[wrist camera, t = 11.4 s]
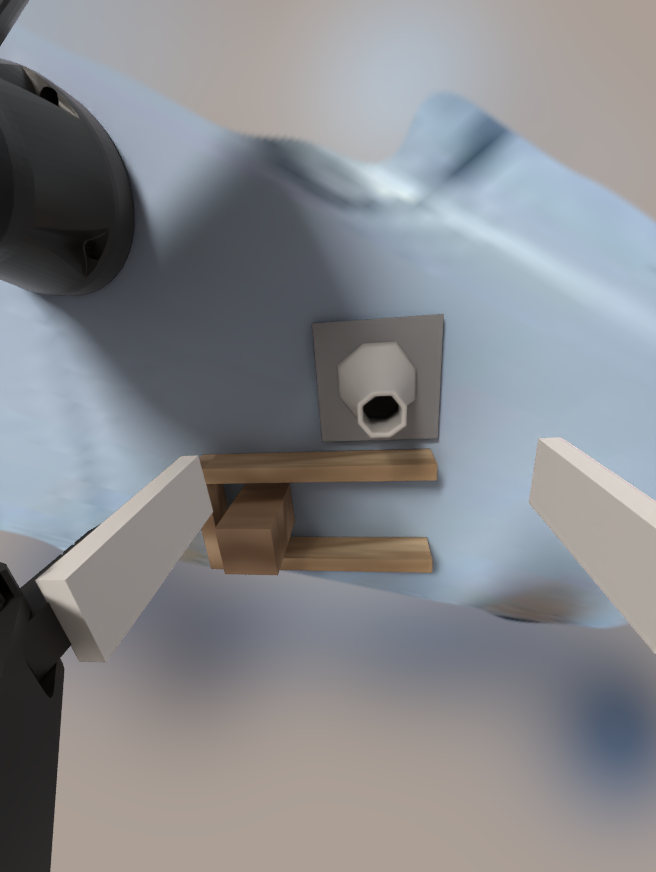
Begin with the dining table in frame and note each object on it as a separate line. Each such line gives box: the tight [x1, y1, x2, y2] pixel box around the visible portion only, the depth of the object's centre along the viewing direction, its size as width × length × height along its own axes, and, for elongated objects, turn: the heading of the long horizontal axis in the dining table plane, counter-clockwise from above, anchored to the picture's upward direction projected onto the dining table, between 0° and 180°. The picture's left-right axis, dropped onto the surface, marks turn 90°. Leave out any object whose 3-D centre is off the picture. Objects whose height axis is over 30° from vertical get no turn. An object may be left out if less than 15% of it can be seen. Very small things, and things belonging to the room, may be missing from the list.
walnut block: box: [215, 483, 295, 575], centre depth 33 cm, size 5×5×8 cm
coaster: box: [312, 314, 444, 442], centre depth 30 cm, size 11×11×1 cm
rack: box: [199, 449, 437, 573], centre depth 34 cm, size 12×24×4 cm, turn 94°
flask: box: [337, 342, 416, 438], centre depth 25 cm, size 7×7×10 cm
